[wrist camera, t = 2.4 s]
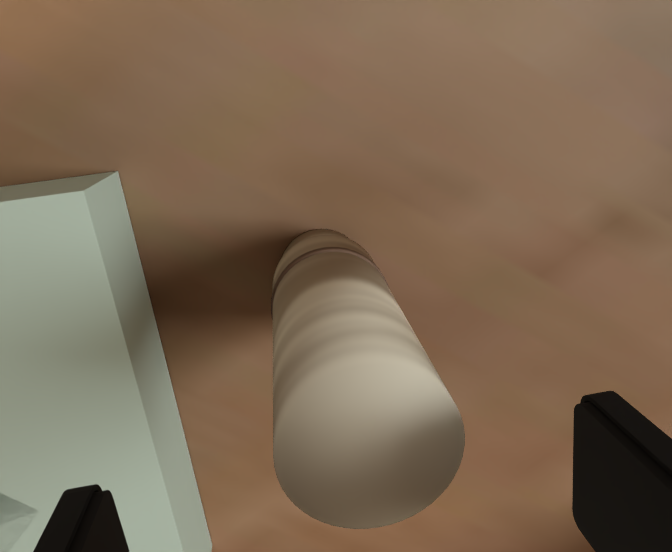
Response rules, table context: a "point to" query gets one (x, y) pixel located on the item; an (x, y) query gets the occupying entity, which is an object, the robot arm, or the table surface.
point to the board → (86, 371)
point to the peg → (354, 392)
